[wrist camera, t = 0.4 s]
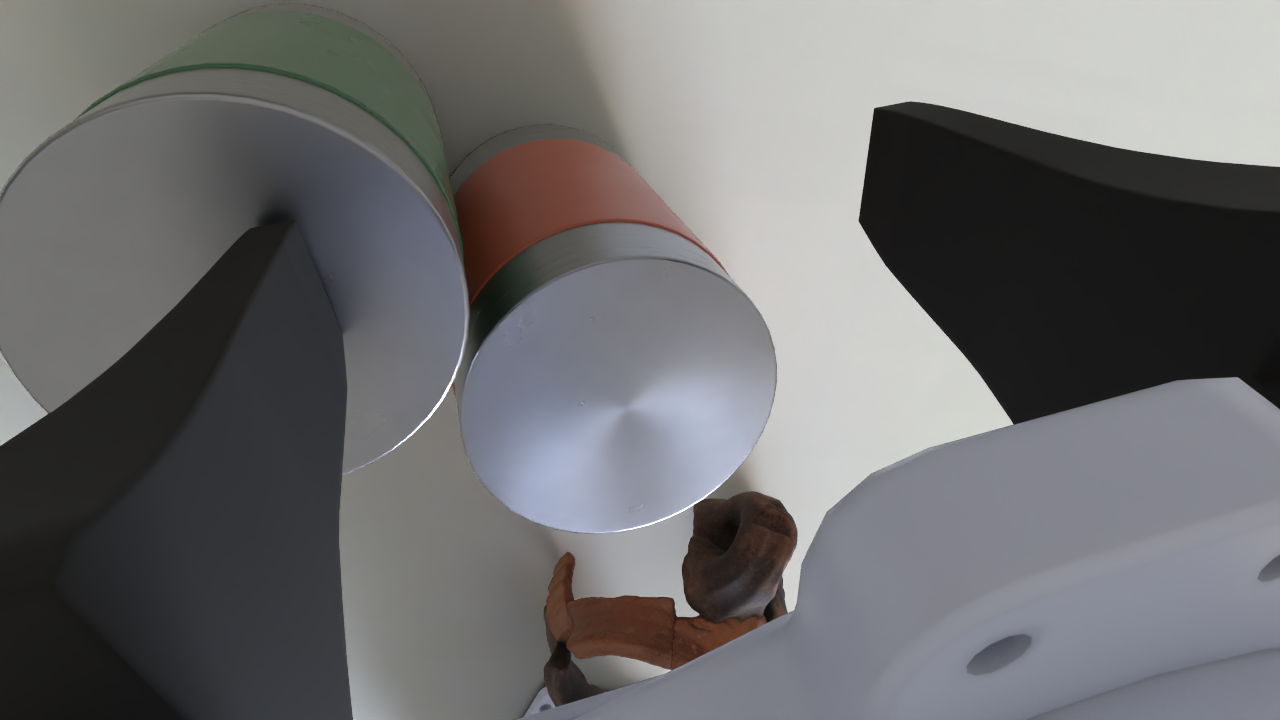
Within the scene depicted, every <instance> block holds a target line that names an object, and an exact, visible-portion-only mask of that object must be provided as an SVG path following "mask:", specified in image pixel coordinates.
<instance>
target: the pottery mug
mask: <svg viewBox="0 0 1280 720" xmlns="http://www.w3.org/2000/svg"><path fill="white" fill-rule="evenodd" d="M693 525H694V529H693V536H692V537H691V539H690V542H689V545H688V553H687V555H686V556H685V558H684V561H683V565H682V576H683V581H684V593H685V597H686V600H687V602H688V604H689V605H690V607H691V608H692V609H693V610H695V611H696V612H698V613H699V614H700V615H699V616H697V617H691V618H690V617H677V616H676V610H675V602H674V600H673V599H672V598H668V597H658V598H657V597H638V596H621V597H616V598H603V597H599V598H597V597H590V598H581V599H578V600H574V597H573V593H572V576H573V570H574V566H575V557H574V556H573V555H572V554H571V553H570V552H567V553H566V554H564V555H563V556H562V557H561V559H560V560H559V562H558V563H557V565H556V566H555V568H554V572H553V577H552V579H551V582H550V584H549V586H548V591H549V595H548V597H547V600H546V605H545V607H544V620H545V625H546V635H547V641H548V644H549V648H550V651H551V657H550V659H549V661H548V662H547V663H546V665H545V667H544V680H545V685H546V687H547V690H548V694H549V696H550V698H551V700H552V702H553V703H554V705H555V707H559V706H562V705H565V704H569V703H572V702H575V701H578V700H582V699H585V698H588V697H592V696H595V695H598V694H601V693H605V691H604V690H602V689H601V688H599V687H597V686H595V685H592V684H589V683H588V682H587V681H586V678H585V676H584V674H583V673H582V672H581V671H580V669H579V668H578V667H577V666H576V665H575V664H574V663H573V661H572V660H571V652H572V653H573V655H574V656H575V657H576V658H578V659H585V658H590V657H596V656H607V655H615V656H621V657H626V658H631V659H636V660H640V661H643V662H647V663H649V664H652V665H656V666H659V667H662V668H665V669H669V670H671V671H672V670H674V669H676V668H678V667H680V666H682V665H684V664H686V663H688V662H690V661H692V660H694V659H696V658H698V657H700V656H702V655H704V654H706V653H708V652H710V651H712V650H714V649H716V648H718V647H720V646H722V645H724V644H726V643H728V642H730V641H732V640H734V639H736V638H738V637H740V636H742V635H744V634H746V633H748V632H750V631H752V630H754V629H756V628H758V627H760V626H762V625H764V624H766V623H768V622H770V621H772V620H774V619H776V618H778V617H780V616H783V615H785V614H787V613H788V612H787V609H786V605H785V600H784V599H785V592H784V589H783V578H782V574H783V571H784V569H785V567H786V566H787V563H788V562H789V560H790V559H791V557H792V554H793V552H794V550H795V548H796V544H797V528H796V525H795V522H794V520H793V518H792V516H791V515H790V514H789V513H788V512H787V510H786V509H785V507H784V506H783V504H782V503H781V502H780V501H779V500H777V499H775V498H772V497H769V496H766V495H763V494H761V493H758V492H745V493H742V494H738V495H735V496H733V497H732V498H730V499H728V500H725V499H703V500H701V501H699V502H697V503H696V504H694V523H693Z"/></svg>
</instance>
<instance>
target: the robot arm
mask: <svg viewBox="0 0 1280 720" xmlns="http://www.w3.org/2000/svg"><path fill="white" fill-rule="evenodd" d="M859 222H860V224H861V226H862V228H863V229H864V231H865V233H866V234H867V236H868V238H869V240H870V241H871V243H872V245H873V246H874V248H875V250H876V251H877V253H878V254H879V256H880V257H881V259H882V260H883V262H884V263H885V265H886V266H887V267H888V269H889V270H890V271H891V272H892V273H893V275H894V276H895V277H896V278H897V279H898V281H899V282H900V283H901V284H902V285H903V286H904V287H905V289H906V290H907V291H908V292H909V293H910V294H911V296H912V297H913V298H914V299H915V300H916V301H917V302H918V304H919V305H920V306H921V307H922V308H923V309H924V310H925V311H926V313H927V314H928V315H929V316H930V317H931V318H932V319H933V320H934V322H935V323H936V324H937V325H938V326H939V327H940V328H941V329H942V331H943V332H944V333H945V334H946V335H947V336H948V337H949V338H950V340H951V341H952V342H953V343H954V344H955V345H956V346H957V347H958V349H959V350H960V351H961V352H962V353H963V354H964V355H965V357H966V358H967V359H968V360H969V362H970V363H971V364H972V365H973V367H974V368H975V369H976V370H977V372H978V373H979V374H980V376H981V377H982V378H983V380H984V381H985V383H986V384H987V386H988V387H989V389H990V390H991V391H992V393H993V394H994V396H995V397H996V399H997V400H998V402H999V403H1000V405H1001V406H1002V407H1003V409H1004V410H1005V412H1006V413H1007V415H1008V416H1009V418H1010V419H1011V421H1012V422H1013V424H1014V425H1011V426H1007V427H1004V428H1000V429H996V430H993V431H989V432H985V433H982V434H978V435H974V436H971V437H967V438H963V439H960V440H956V441H952V442H949V443H945V444H941V445H938V446H934V447H930V448H927V449H925V450H923V451H921V452H918V453H916V454H914V455H912V456H909V457H907V458H905V459H903V460H900V461H898V462H896V463H894V464H892V465H889V466H887V467H885V468H883V469H880V470H878V471H876V472H874V473H871V474H870V475H869V476H868V477H867V478H866V479H864V480H863V481H862V482H861V483H860V484H859V485H858V486H856V487H855V488H854V489H853V490H852V491H851V492H849V493H848V494H847V495H846V496H845V497H844V498H842V499H841V500H840V501H839V502H838V503H837V504H836V505H834V506H833V507H832V508H831V509H830V510H829V511H827V513H826V515H825V517H824V519H823V521H822V523H821V525H820V527H819V529H818V531H817V533H816V535H815V537H814V539H813V541H812V543H811V545H810V547H809V549H808V551H807V553H806V556H805V558H804V560H803V562H802V565H801V573H800V581H799V590H798V598H797V604H796V607H795V610H794V611H791V612H789V613H787V614H785V615H783V616H780V617H778V618H776V619H774V620H772V621H770V622H768V623H766V624H764V625H762V626H760V627H758V628H756V629H754V630H752V631H750V632H748V633H746V634H744V635H742V636H740V637H738V638H736V639H734V640H732V641H730V642H728V643H726V644H724V645H722V646H720V647H718V648H716V649H714V650H712V651H710V652H708V653H706V654H704V655H702V656H700V657H698V658H696V659H694V660H692V661H690V662H688V663H686V664H684V665H682V666H680V667H678V668H676V669H674V670H672V671H670V672H668V673H666V674H664V675H660V676H657V677H654V678H651V679H647V680H644V681H641V682H637V683H634V684H631V685H628V686H624V687H621V688H618V689H614V690H611V691H608V692H605V693H601V694H598V695H595V696H592V697H588V698H585V699H582V700H578V701H575V702H572V703H569V704H565V705H562V706H559V707H555V705H554V703H553V702H552V700H551V698H550V696H549V694H548V690H547V687H545V688H543V689H541V690H540V692H539V693H538V694H537V696H536V698H535V699H534V701H533V702H532V704H531V706H530V707H529V709H528V710H527V712H526V714H525V715H524V717H523V718H520V719H516V720H1280V167H1271V166H1258V165H1245V164H1233V163H1220V162H1211V161H1201V160H1192V159H1185V158H1178V157H1171V156H1164V155H1157V154H1151V153H1144V152H1137V151H1132V150H1126V149H1121V148H1115V147H1110V146H1105V145H1101V144H1096V143H1091V142H1087V141H1082V140H1077V139H1073V138H1068V137H1064V136H1060V135H1056V134H1052V133H1047V132H1043V131H1039V130H1036V129H1032V128H1028V127H1024V126H1020V125H1016V124H1012V123H1008V122H1005V121H1001V120H997V119H993V118H989V117H985V116H981V115H977V114H973V113H970V112H966V111H961V110H957V109H953V108H948V107H944V106H939V105H933V104H927V103H920V102H905V103H899V104H894V105H889V106H884V107H879V108H874V114H873V121H872V128H871V136H870V143H869V150H868V157H867V165H866V172H865V179H864V187H863V194H862V201H861V208H860V216H859ZM346 408H347V376H346V363H345V353H344V343H343V334H342V331H341V328H340V326H339V324H338V321H337V319H336V316H335V314H334V312H333V309H332V307H331V304H330V302H329V300H328V297H327V295H326V292H325V290H324V288H323V285H322V283H321V280H320V278H319V276H318V273H317V271H316V268H315V266H314V264H313V261H312V259H311V256H310V254H309V252H308V249H307V247H306V245H305V242H304V240H303V237H302V235H301V233H300V230H299V228H298V225H297V223H296V221H295V220H290V221H285V222H280V223H275V224H270V225H264V226H259V227H254V228H250V229H249V230H247V231H246V232H245V233H244V234H243V235H242V236H241V237H239V238H238V239H237V241H236V242H235V243H234V244H233V245H232V246H231V247H230V248H229V249H228V250H227V251H226V252H225V253H224V254H223V255H222V256H221V258H220V259H219V260H218V261H217V262H216V263H215V264H214V265H213V266H212V267H211V268H210V270H209V271H208V272H207V273H206V274H205V275H204V276H203V277H202V278H201V279H200V280H199V281H198V282H197V284H196V285H195V286H194V287H193V288H192V289H191V290H190V291H189V292H188V293H187V294H186V295H185V296H184V297H183V299H182V300H181V301H180V302H179V303H178V304H177V305H176V306H175V307H174V308H173V309H172V310H171V311H170V312H169V313H168V314H167V315H166V316H164V317H163V318H162V319H161V320H160V321H159V322H158V323H157V324H156V325H155V326H154V327H153V328H152V329H151V330H150V331H149V332H148V333H147V334H146V335H145V336H144V337H143V338H142V339H141V340H140V341H139V342H137V343H136V344H135V345H134V346H133V347H132V348H131V349H130V350H129V351H128V352H127V353H126V354H125V355H123V356H122V357H121V358H120V359H119V360H118V361H117V362H115V363H114V364H113V365H112V366H111V367H109V368H108V369H107V370H106V371H105V372H103V373H102V374H101V375H100V376H98V377H97V378H96V379H95V380H93V381H92V382H91V383H89V384H88V385H87V386H86V387H84V388H83V389H82V390H81V391H79V392H78V393H77V394H75V395H74V396H73V397H72V398H70V399H69V400H68V401H66V402H65V403H63V404H62V405H61V406H59V407H58V408H57V409H55V410H54V411H52V412H51V413H49V414H48V415H46V416H45V417H43V418H42V419H40V420H39V421H37V422H36V423H34V424H33V425H31V426H30V427H28V428H27V429H25V430H24V431H22V432H21V433H19V434H18V435H16V436H15V437H13V438H12V439H10V440H9V441H7V442H6V443H4V444H3V445H1V446H0V720H353V717H352V707H351V697H350V687H349V676H348V666H347V655H346V641H345V628H344V615H343V602H342V586H341V568H340V550H339V510H340V496H341V482H342V467H343V453H344V439H345V424H346Z"/></svg>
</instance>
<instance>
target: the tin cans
mask: <svg viewBox="0 0 1280 720" xmlns="http://www.w3.org/2000/svg"><path fill="white" fill-rule="evenodd" d="M290 220H295V221H296V223H297V225H298V228H299V230H300V233H301V235H302V237H303V240H304V242H305V245H306V247H307V249H308V252H309V254H310V256H311V259H312V261H313V264H314V266H315V268H316V271H317V273H318V276H319V278H320V280H321V283H322V285H323V288H324V290H325V292H326V295H327V297H328V300H329V302H330V304H331V307H332V309H333V312H334V314H335V316H336V319H337V321H338V324H339V326H340V328H341V331H342V334H343V343H344V353H345V363H346V376H347V408H346V424H345V439H344V453H343V467H342V475H345V474H348V473H351V472H353V471H355V470H357V469H360V468H362V467H364V466H366V465H368V464H370V463H373V462H374V461H376V460H378V459H379V458H381V457H383V456H384V455H386V454H388V453H389V452H391V451H393V450H394V449H395V448H397V447H398V446H399V445H400V444H402V443H403V442H404V441H406V440H407V439H408V438H409V437H411V436H412V435H413V434H414V433H415V432H416V431H417V430H418V429H419V428H420V427H421V426H422V425H423V424H424V423H425V422H426V421H427V420H428V419H429V418H430V417H431V415H432V414H433V413H434V411H435V410H436V409H437V407H438V406H439V405H440V404H441V402H442V401H443V400H444V398H445V396H446V394H447V393H448V391H449V389H450V387H451V386H452V387H453V391H454V395H455V399H456V403H457V408H458V416H459V424H460V432H461V438H462V442H463V446H464V449H465V453H466V455H467V458H468V460H469V462H470V464H471V467H472V469H473V470H474V472H475V474H476V475H477V477H478V478H479V480H480V481H481V483H482V484H483V485H484V486H485V487H486V489H487V490H488V491H489V492H490V493H491V494H492V495H493V496H494V497H495V498H496V499H497V500H498V501H500V502H501V503H502V504H503V505H505V506H506V507H507V508H508V509H510V510H512V511H513V512H515V513H517V514H518V515H520V516H522V517H523V518H526V519H528V520H530V521H533V522H535V523H537V524H540V525H543V526H546V527H550V528H553V529H557V530H563V531H569V532H575V533H593V534H594V533H612V532H619V531H625V530H631V529H635V528H639V527H643V526H647V525H650V524H653V523H656V522H659V521H661V520H664V519H667V518H669V517H671V516H673V515H675V514H678V513H680V512H682V511H684V510H686V509H687V508H689V507H691V506H692V505H694V504H696V503H697V502H699V501H701V500H702V499H703V498H705V497H706V496H708V495H709V494H710V493H712V492H713V491H714V490H716V489H717V488H718V487H719V486H720V485H721V484H722V483H724V482H725V481H726V480H727V479H728V478H729V477H730V476H731V475H732V474H733V473H734V472H735V471H736V470H737V468H738V467H739V466H740V465H741V464H742V463H743V461H744V460H745V459H746V457H747V456H748V455H749V453H750V452H751V451H752V449H753V448H754V446H755V444H756V443H757V441H758V439H759V437H760V436H761V434H762V432H763V430H764V427H765V425H766V423H767V420H768V418H769V415H770V412H771V408H772V405H773V401H774V396H775V389H776V383H777V363H776V356H775V349H774V345H773V342H772V338H771V335H770V332H769V329H768V327H767V325H766V323H765V321H764V319H763V317H762V315H761V314H760V312H759V311H758V309H757V308H756V307H755V305H754V304H753V302H752V301H751V300H750V299H749V298H748V296H747V295H746V294H745V293H744V292H743V291H742V290H741V289H740V288H739V287H738V285H737V284H736V283H735V282H734V281H733V280H732V279H731V278H730V276H729V274H728V273H727V272H726V270H725V269H724V267H723V266H722V265H721V263H720V262H719V261H718V260H717V259H716V258H715V257H714V255H713V254H712V253H711V252H710V251H709V250H708V249H707V248H706V247H705V246H704V245H703V243H702V242H701V241H700V240H699V239H698V238H697V237H696V236H695V235H694V234H693V233H692V231H691V230H690V229H689V228H688V227H687V226H686V225H685V224H684V223H683V222H682V221H681V219H680V218H679V217H678V216H677V215H676V214H675V213H674V212H673V211H672V210H671V209H670V207H669V206H668V205H667V204H666V203H665V202H664V201H663V200H662V199H661V198H660V197H659V195H658V194H657V193H656V192H655V191H654V190H653V189H652V188H651V187H650V186H649V185H648V183H647V182H646V181H645V180H644V179H643V178H642V177H641V176H640V175H639V174H638V173H637V172H636V171H635V170H634V169H633V168H632V167H631V166H630V165H629V164H628V163H626V162H625V161H624V160H623V159H622V158H621V157H620V156H619V155H618V154H617V153H616V152H615V151H614V150H613V149H612V148H611V147H609V146H608V145H607V144H605V143H604V142H603V141H601V140H599V139H597V138H596V137H594V136H592V135H590V134H587V133H585V132H583V131H580V130H577V129H573V128H569V127H565V126H557V125H532V126H526V127H520V128H517V129H513V130H510V131H506V132H504V133H502V134H500V135H498V136H495V137H493V138H491V139H490V140H488V141H487V142H485V143H483V144H482V145H480V146H479V147H478V148H476V149H475V150H474V151H473V152H472V153H470V154H469V155H468V156H467V157H466V158H465V159H464V161H463V162H462V163H461V164H460V165H459V166H458V168H457V169H456V170H455V172H454V173H453V175H452V176H451V178H449V173H448V168H447V163H446V158H445V153H444V148H443V143H442V138H441V134H440V129H439V125H438V123H437V120H436V117H435V113H434V110H433V107H432V104H431V101H430V98H429V96H428V93H427V91H426V89H425V87H424V86H423V84H422V82H421V80H420V78H419V77H418V75H417V74H416V72H415V71H414V69H413V68H412V66H411V65H410V64H409V62H408V61H407V60H406V59H405V58H404V57H403V55H402V54H401V53H400V52H399V51H398V50H397V49H396V48H395V47H394V46H393V45H392V44H390V43H389V42H388V41H387V40H386V39H385V38H383V37H382V36H381V35H379V34H378V33H377V32H375V31H374V30H372V29H371V28H369V27H367V26H366V25H364V24H362V23H360V22H359V21H357V20H355V19H353V18H350V17H348V16H346V15H343V14H341V13H338V12H335V11H332V10H328V9H325V8H321V7H316V6H309V5H302V4H278V5H269V6H263V7H259V8H255V9H252V10H248V11H245V12H243V13H241V14H238V15H236V16H234V17H231V18H230V19H228V20H226V21H223V22H221V23H219V24H216V25H214V26H213V27H211V28H209V29H208V30H206V31H205V32H203V33H202V34H200V35H198V36H197V37H195V38H194V39H192V40H191V41H189V42H187V43H186V44H184V45H183V46H181V47H180V48H178V49H177V50H175V51H173V52H172V53H170V54H169V55H167V56H166V57H164V58H163V59H161V60H159V61H158V62H156V63H155V64H153V65H152V66H150V67H149V68H147V69H145V70H144V71H142V72H141V73H139V74H138V75H136V76H135V77H133V78H131V79H130V80H128V81H127V82H125V83H124V84H122V85H120V86H119V87H117V88H116V89H114V90H113V91H111V92H110V93H108V94H106V95H105V96H103V97H102V98H100V99H99V100H97V101H96V102H94V103H93V104H92V105H91V106H90V107H88V108H87V109H86V110H85V111H84V112H83V113H82V114H81V115H79V116H78V117H77V118H76V119H75V120H74V121H73V122H71V123H70V124H68V125H67V126H65V127H64V128H62V129H61V130H59V131H57V132H56V133H54V134H53V135H51V136H50V137H48V138H47V139H46V140H45V141H44V142H43V143H42V144H41V145H39V146H38V147H37V148H36V149H35V150H34V151H33V152H32V153H31V154H29V155H28V156H27V157H26V158H25V159H24V160H23V162H22V163H21V164H20V165H19V167H18V168H17V169H16V170H15V172H14V173H13V174H12V175H11V177H10V178H9V179H8V181H7V182H6V183H5V185H4V187H3V189H2V191H1V193H0V351H1V353H2V354H3V356H4V358H5V359H6V361H7V363H8V364H9V366H10V368H11V369H12V371H13V372H14V374H15V376H16V377H17V378H18V380H19V381H20V382H21V383H22V385H23V386H24V387H25V388H26V390H27V391H28V392H29V393H30V395H31V396H32V397H33V398H34V399H35V400H36V401H37V402H38V403H39V404H40V405H41V406H42V407H43V408H44V409H45V410H46V411H47V412H48V413H51V412H52V411H54V410H55V409H57V408H58V407H59V406H61V405H62V404H63V403H65V402H66V401H68V400H69V399H70V398H72V397H73V396H74V395H75V394H77V393H78V392H79V391H81V390H82V389H83V388H84V387H86V386H87V385H88V384H89V383H91V382H92V381H93V380H95V379H96V378H97V377H98V376H100V375H101V374H102V373H103V372H105V371H106V370H107V369H108V368H109V367H111V366H112V365H113V364H114V363H115V362H117V361H118V360H119V359H120V358H121V357H122V356H123V355H125V354H126V353H127V352H128V351H129V350H130V349H131V348H132V347H133V346H134V345H135V344H136V343H137V342H139V341H140V340H141V339H142V338H143V337H144V336H145V335H146V334H147V333H148V332H149V331H150V330H151V329H152V328H153V327H154V326H155V325H156V324H157V323H158V322H159V321H160V320H161V319H162V318H163V317H164V316H166V315H167V314H168V313H169V312H170V311H171V310H172V309H173V308H174V307H175V306H176V305H177V304H178V303H179V302H180V301H181V300H182V299H183V297H184V296H185V295H186V294H187V293H188V292H189V291H190V290H191V289H192V288H193V287H194V286H195V285H196V284H197V282H198V281H199V280H200V279H201V278H202V277H203V276H204V275H205V274H206V273H207V272H208V271H209V270H210V268H211V267H212V266H213V265H214V264H215V263H216V262H217V261H218V260H219V259H220V258H221V256H222V255H223V254H224V253H225V252H226V251H227V250H228V249H229V248H230V247H231V246H232V245H233V244H234V243H235V242H236V241H237V239H238V238H239V237H241V236H242V235H243V234H244V233H245V232H246V231H247V230H249V229H250V228H254V227H259V226H264V225H270V224H275V223H280V222H285V221H290Z"/></svg>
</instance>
